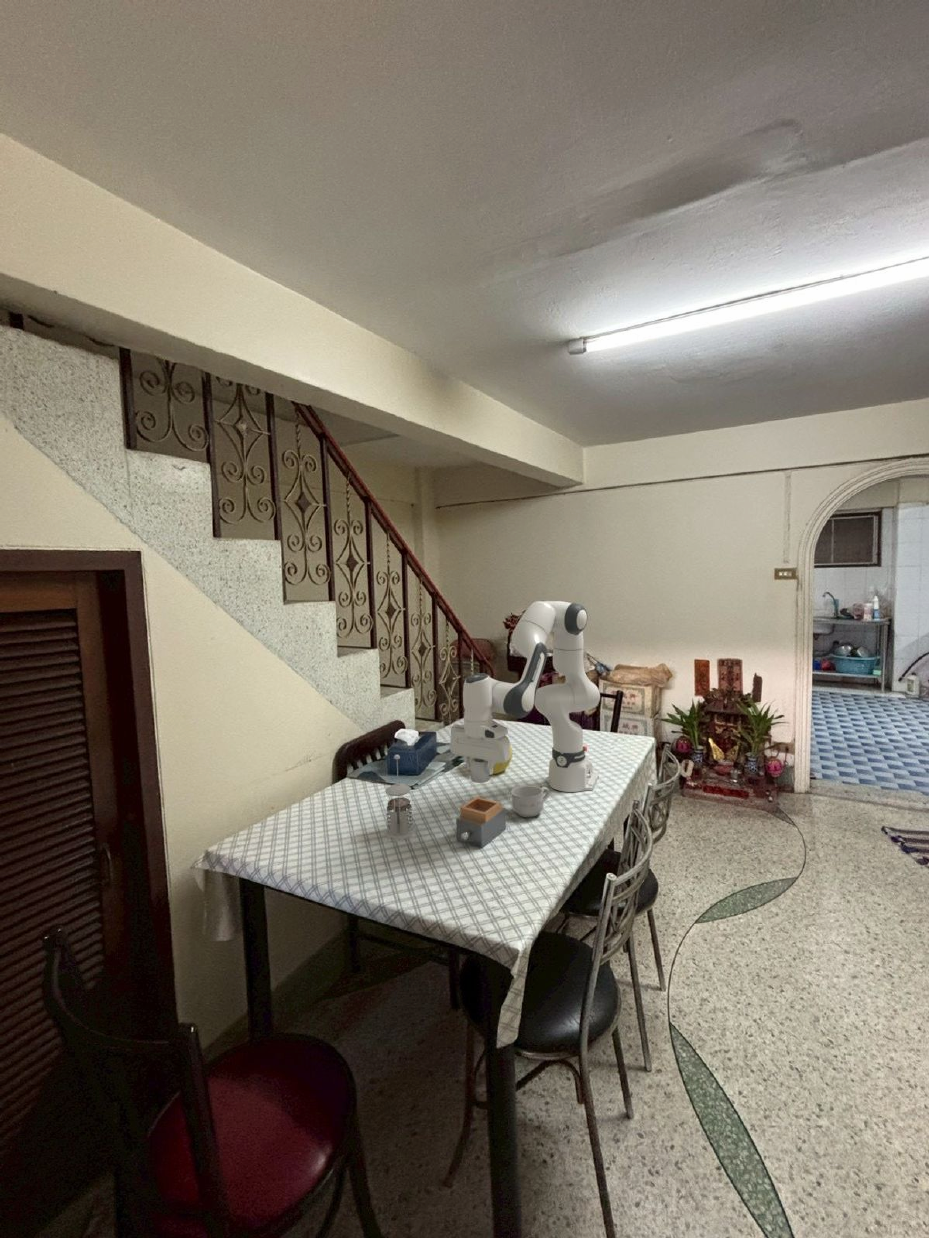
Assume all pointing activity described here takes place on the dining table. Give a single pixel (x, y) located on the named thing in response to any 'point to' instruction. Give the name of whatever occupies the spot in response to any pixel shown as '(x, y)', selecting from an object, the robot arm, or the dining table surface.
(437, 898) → the dining table surface
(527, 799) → the teacup
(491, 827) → the grey box with knob
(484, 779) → the light grey rounded bottle
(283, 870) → the dining table surface
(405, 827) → the french press
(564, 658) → the robot arm
